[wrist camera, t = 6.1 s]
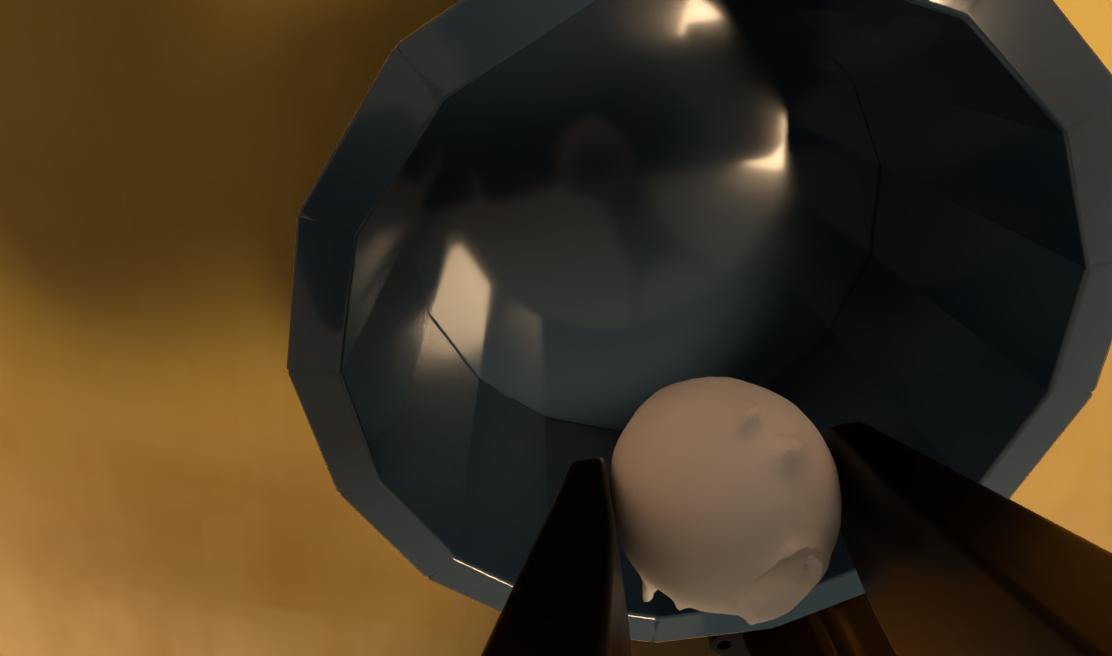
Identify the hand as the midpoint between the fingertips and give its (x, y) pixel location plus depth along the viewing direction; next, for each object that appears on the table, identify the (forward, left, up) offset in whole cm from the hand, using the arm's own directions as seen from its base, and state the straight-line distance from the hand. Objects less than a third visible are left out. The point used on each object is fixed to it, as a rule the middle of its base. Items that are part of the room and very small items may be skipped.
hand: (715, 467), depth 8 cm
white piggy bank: (0, 0, -1) cm, 1 cm away
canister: (0, 0, -8) cm, 8 cm away
